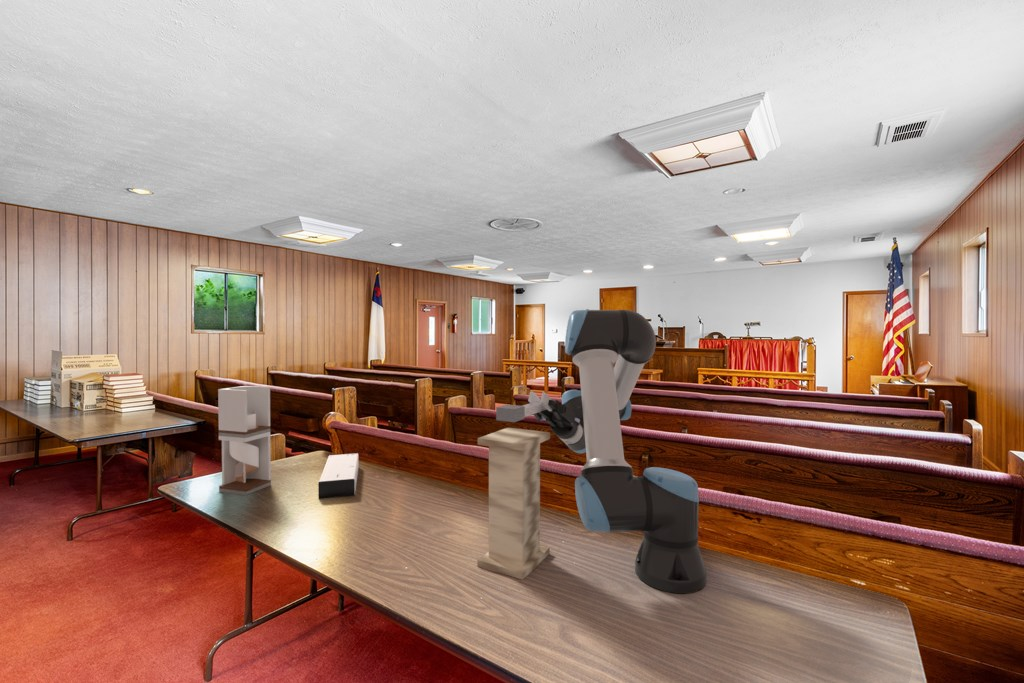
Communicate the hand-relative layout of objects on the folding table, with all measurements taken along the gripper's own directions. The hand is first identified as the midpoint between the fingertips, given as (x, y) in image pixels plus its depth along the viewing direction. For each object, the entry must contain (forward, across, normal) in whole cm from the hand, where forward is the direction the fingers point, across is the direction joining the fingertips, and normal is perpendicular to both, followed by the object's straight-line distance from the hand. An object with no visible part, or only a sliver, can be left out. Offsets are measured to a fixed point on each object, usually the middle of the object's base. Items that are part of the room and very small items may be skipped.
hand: (536, 396), depth 121 cm
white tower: (-7, +106, -40) cm, 113 cm away
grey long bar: (+2, 0, -5) cm, 6 cm away
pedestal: (-9, 0, -39) cm, 40 cm away
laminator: (-26, +84, -30) cm, 92 cm away
